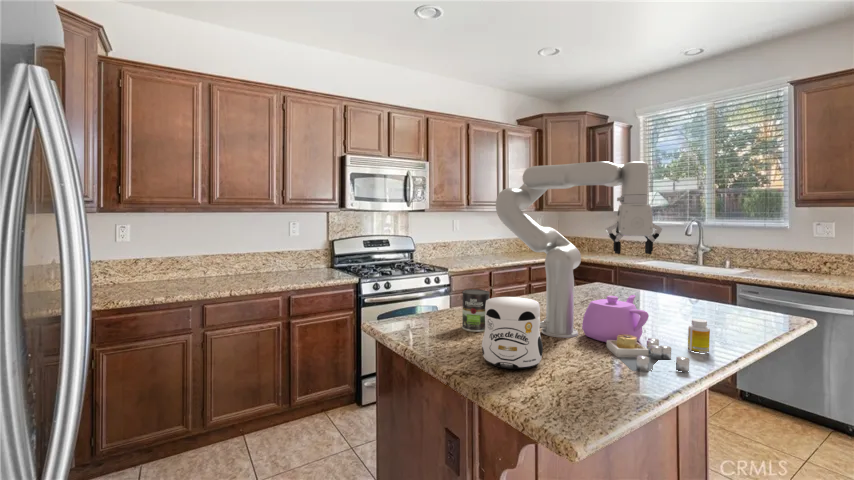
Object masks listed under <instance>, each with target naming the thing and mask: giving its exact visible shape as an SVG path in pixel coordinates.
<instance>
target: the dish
mask: <svg viewBox="0 0 854 480" xmlns="http://www.w3.org/2000/svg"><path fill="white" fill-rule="evenodd" d="M606 349H607V350H608V351H610V352H611V353H612V354H613V355H614V356H615V355H616V356H615V357H616V358H618V357H637V356H646V357H649V350H648V349H647V347H646V346H644V345H643V344H641V343H639V342H638V341H637V349H626V348H618V347H617V340H607V342H606Z"/></svg>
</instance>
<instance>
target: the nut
mask: <svg viewBox="0 0 854 480" xmlns="http://www.w3.org/2000/svg"><path fill="white" fill-rule="evenodd" d="M637 342H638V340H637V337H635V336H632V335H625V334H620V335H618V336H617V347H618V348H626V349H637Z"/></svg>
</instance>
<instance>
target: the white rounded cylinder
mask: <svg viewBox="0 0 854 480" xmlns="http://www.w3.org/2000/svg"><path fill="white" fill-rule="evenodd" d="M540 306H541V305H540V302H538V301H537V300H535V299H531V298H527V297H518V296H497V297H491V298H489V299H488V300H486V305H485V331H483V332H484V333H483V336H482V340H481V351H482V356H483V359H484V360H485V361H486V362H488V363H489V364H491V365H492V366H494V367H498V368H502V369H509V370H525V369H531V368H533V367H535V366H537V365H539V364H540V362H541V360H542V357H543V354H544V353H543V351H544V348H543V347H544V346H543V341H542V337H541V332H540V329H541V328H540V322H541V317H540V315H541V309H540V308H541V307H540Z"/></svg>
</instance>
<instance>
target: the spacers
mask: <svg viewBox="0 0 854 480" xmlns="http://www.w3.org/2000/svg"><path fill="white" fill-rule="evenodd" d="M646 348H647V349H648V350H649V354H651V359H654V360H672V347H671V346H668V345H660V340H659V339H658V338H655V337H648V339H647V340H646ZM675 362H676V370H678V371H682V372H688V371H689V372H690V358H689V357H686V356H676V360H675ZM636 369H637V370H638V371H637V372H643V373H648V371H649V357H646V356H637V364H636ZM682 372H681V373H682Z"/></svg>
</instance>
